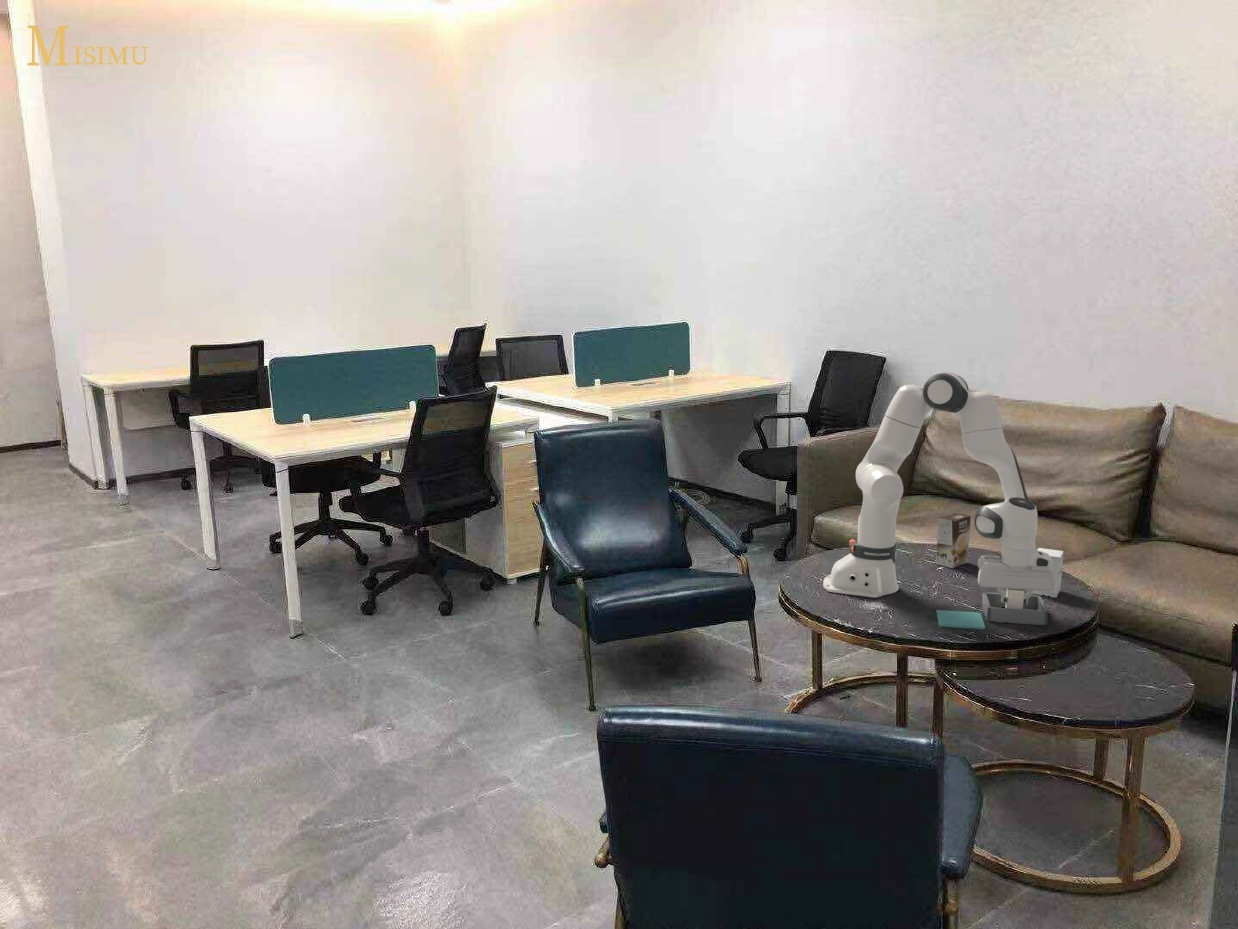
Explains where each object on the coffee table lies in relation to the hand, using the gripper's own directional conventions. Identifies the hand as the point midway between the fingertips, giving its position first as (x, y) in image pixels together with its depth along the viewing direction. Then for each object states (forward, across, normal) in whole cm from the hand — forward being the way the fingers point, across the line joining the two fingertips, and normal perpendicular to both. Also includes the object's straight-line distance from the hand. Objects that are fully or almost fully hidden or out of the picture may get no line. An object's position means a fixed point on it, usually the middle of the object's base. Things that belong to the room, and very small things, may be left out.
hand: (1014, 603), depth 279 cm
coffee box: (+4, -13, +44) cm, 46 cm away
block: (+4, 0, 0) cm, 4 cm away
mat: (+4, -15, -7) cm, 17 cm away
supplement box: (+4, +12, +21) cm, 24 cm away
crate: (+4, 0, 0) cm, 4 cm away
